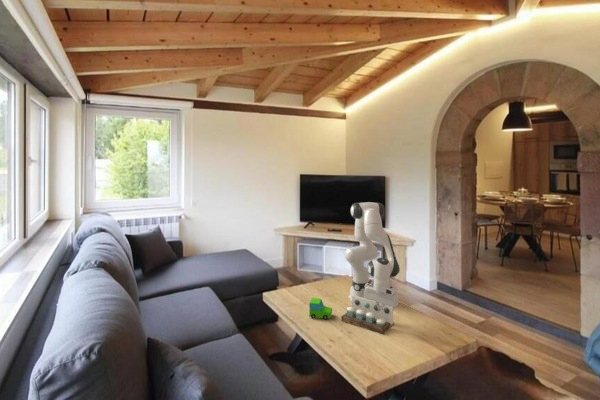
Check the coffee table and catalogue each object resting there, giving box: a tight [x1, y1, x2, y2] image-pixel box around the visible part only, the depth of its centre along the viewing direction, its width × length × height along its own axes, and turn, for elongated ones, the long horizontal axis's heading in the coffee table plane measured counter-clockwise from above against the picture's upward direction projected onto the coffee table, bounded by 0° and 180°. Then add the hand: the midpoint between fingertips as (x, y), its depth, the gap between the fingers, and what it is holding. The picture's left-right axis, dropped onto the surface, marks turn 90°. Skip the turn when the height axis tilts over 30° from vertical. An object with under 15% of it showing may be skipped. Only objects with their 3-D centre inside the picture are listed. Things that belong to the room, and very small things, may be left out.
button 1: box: [346, 306, 355, 317], centre depth 212 cm, size 5×5×4 cm
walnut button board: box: [340, 312, 391, 335], centre depth 206 cm, size 10×27×3 cm, turn 53°
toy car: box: [308, 297, 333, 321], centre depth 216 cm, size 10×13×10 cm
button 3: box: [366, 312, 375, 323], centre depth 204 cm, size 5×5×4 cm
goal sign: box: [351, 295, 395, 328], centre depth 213 cm, size 4×27×12 cm, turn 53°
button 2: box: [356, 309, 365, 320], centre depth 208 cm, size 5×5×4 cm
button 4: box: [376, 318, 385, 327], centre depth 200 cm, size 5×5×4 cm
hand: (380, 309), depth 200 cm, fingers closed
